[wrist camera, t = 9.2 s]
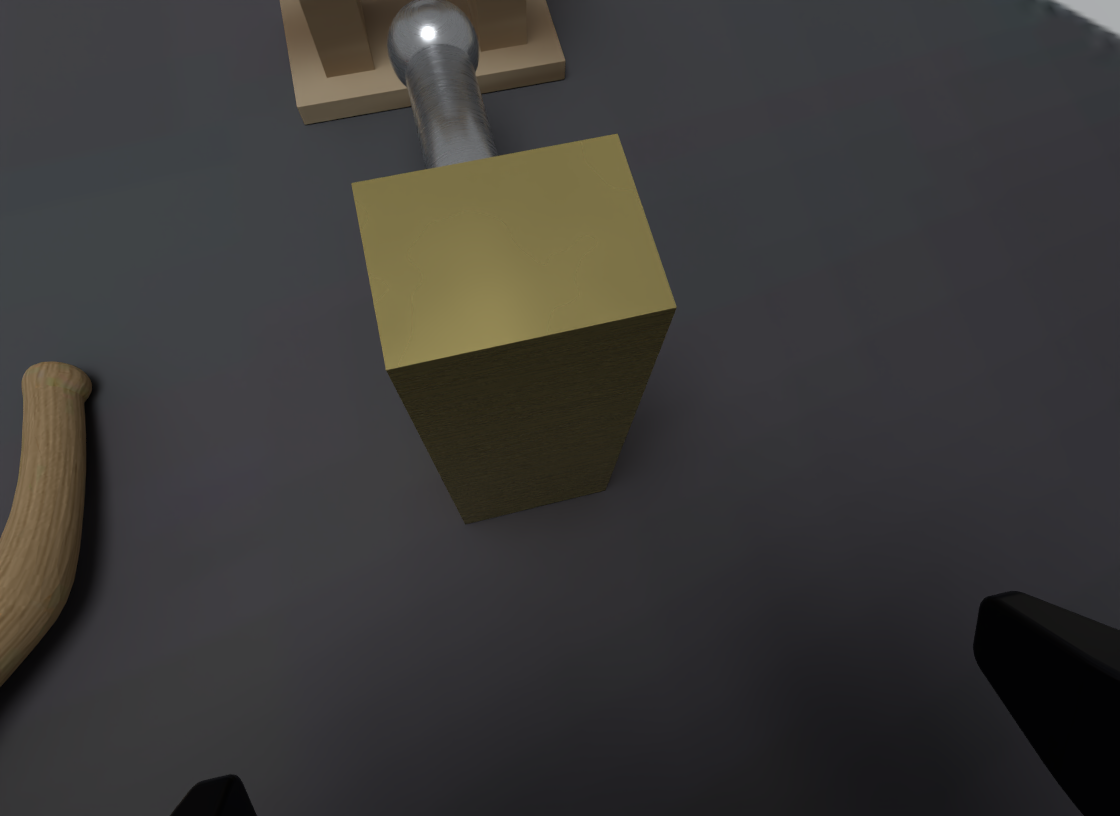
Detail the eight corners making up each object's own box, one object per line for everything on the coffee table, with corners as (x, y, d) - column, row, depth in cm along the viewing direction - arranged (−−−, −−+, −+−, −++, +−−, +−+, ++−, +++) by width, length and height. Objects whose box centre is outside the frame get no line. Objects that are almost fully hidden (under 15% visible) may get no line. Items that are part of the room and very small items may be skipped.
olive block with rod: (605, 490, 20) (676, 307, 10) (465, 524, 20) (386, 370, 9) (505, 132, 24) (481, -265, 14) (387, 153, 24) (272, -239, 13)
